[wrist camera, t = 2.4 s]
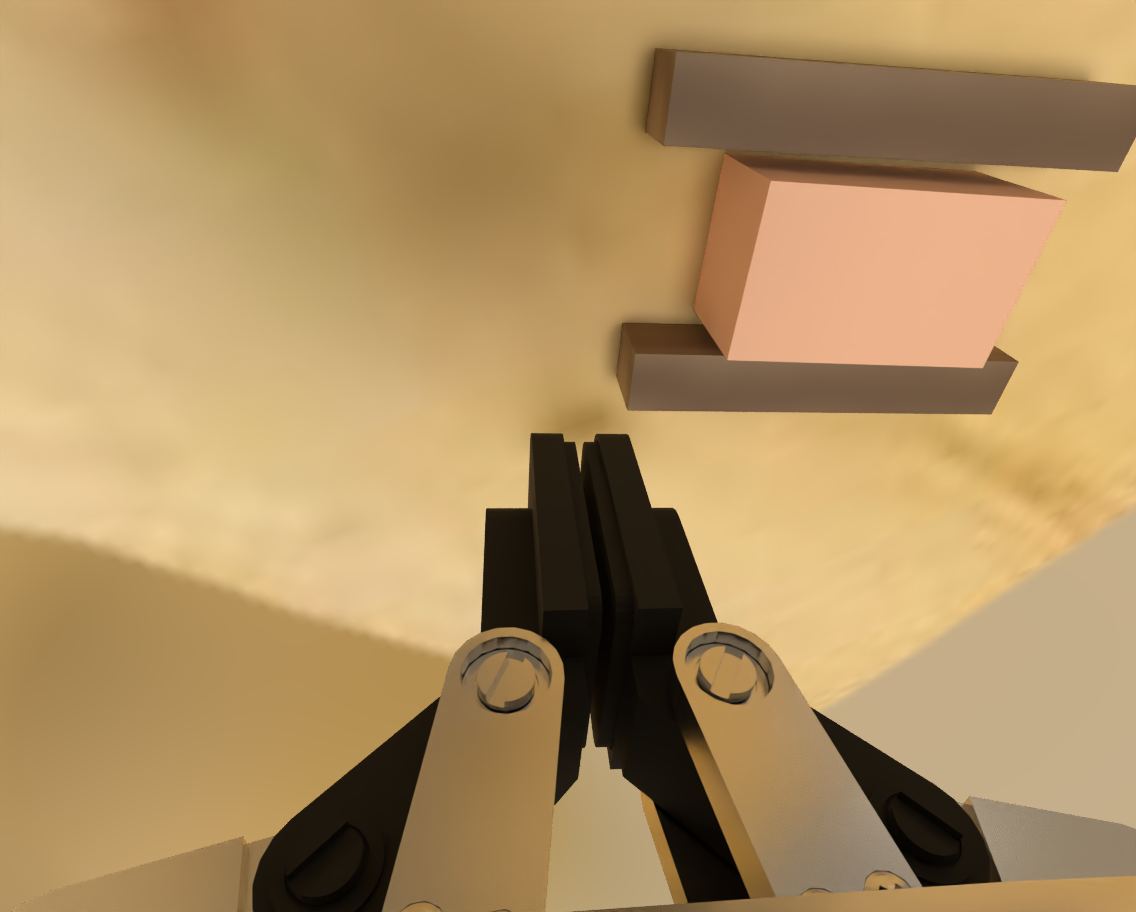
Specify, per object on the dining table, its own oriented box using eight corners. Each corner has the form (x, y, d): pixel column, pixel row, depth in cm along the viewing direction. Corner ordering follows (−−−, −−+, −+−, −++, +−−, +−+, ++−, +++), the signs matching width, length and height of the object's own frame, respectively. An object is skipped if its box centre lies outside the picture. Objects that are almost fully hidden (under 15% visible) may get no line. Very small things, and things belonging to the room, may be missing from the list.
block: (722, 152, 23) (770, 180, 19) (971, 170, 24) (1067, 200, 20) (692, 307, 26) (727, 360, 22) (911, 316, 28) (982, 368, 23)
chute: (655, 48, 21) (676, 51, 18) (1089, 81, 22) (1161, 88, 20) (616, 376, 28) (627, 410, 25) (950, 381, 29) (991, 414, 27)
